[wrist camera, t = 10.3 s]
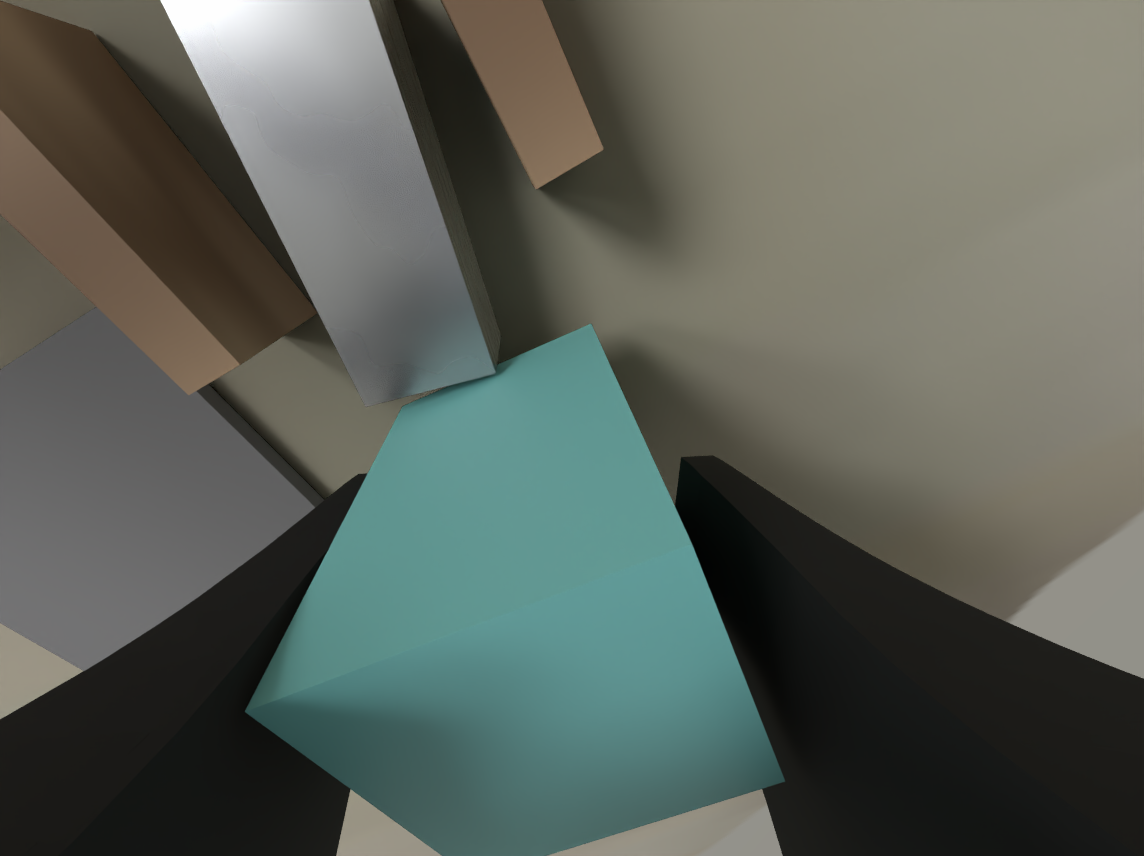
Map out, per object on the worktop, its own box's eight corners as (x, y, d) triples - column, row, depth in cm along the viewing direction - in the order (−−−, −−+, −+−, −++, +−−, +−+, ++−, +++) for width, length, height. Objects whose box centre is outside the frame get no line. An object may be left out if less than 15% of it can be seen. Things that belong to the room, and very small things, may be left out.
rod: (246, 20, 8) (140, -39, 6) (388, -22, 8) (336, -96, 5) (397, 360, 11) (365, 407, 8) (501, 333, 10) (495, 373, 8)
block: (402, 406, 9) (245, 711, 4) (590, 323, 9) (691, 543, 4) (496, 545, 11) (473, 878, 6) (656, 482, 11) (785, 780, 5)
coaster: (-183, 493, 10) (-207, 504, 10) (119, 296, 9) (104, 301, 9) (163, 698, 15) (154, 711, 14) (407, 582, 13) (404, 594, 13)
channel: (45, 66, 8) (-214, 8, 5) (414, -218, 6) (339, -487, 4) (278, 335, 10) (188, 395, 7) (579, 156, 9) (603, 148, 6)
